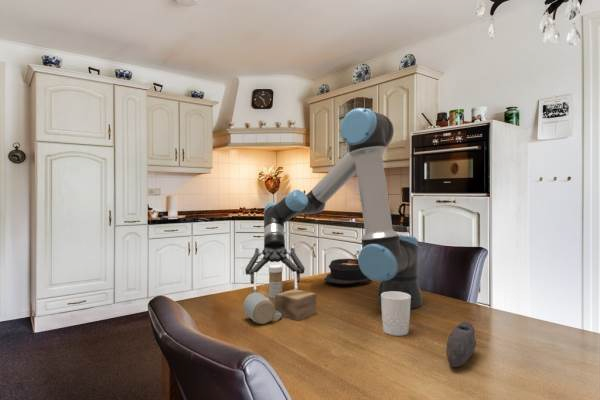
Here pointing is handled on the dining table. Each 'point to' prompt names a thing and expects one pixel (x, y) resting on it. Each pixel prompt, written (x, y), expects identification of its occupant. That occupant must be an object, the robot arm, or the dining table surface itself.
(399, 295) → the white cup
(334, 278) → the black fedora hat
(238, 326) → the dining table surface
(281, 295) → the tan block
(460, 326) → the perforated stone tool
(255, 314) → the ceramic mug
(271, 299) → the sprinkles bottle
